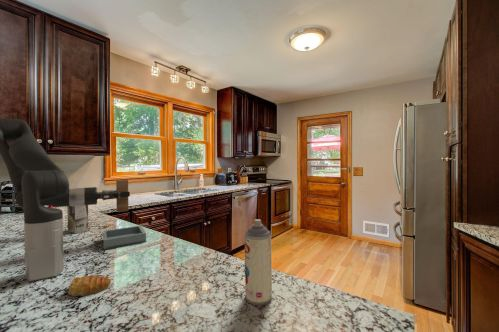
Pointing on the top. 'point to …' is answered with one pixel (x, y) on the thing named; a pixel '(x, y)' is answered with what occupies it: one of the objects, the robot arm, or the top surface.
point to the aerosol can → (258, 264)
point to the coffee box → (77, 218)
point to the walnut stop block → (122, 201)
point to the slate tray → (123, 237)
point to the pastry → (88, 285)
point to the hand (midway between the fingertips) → (128, 193)
